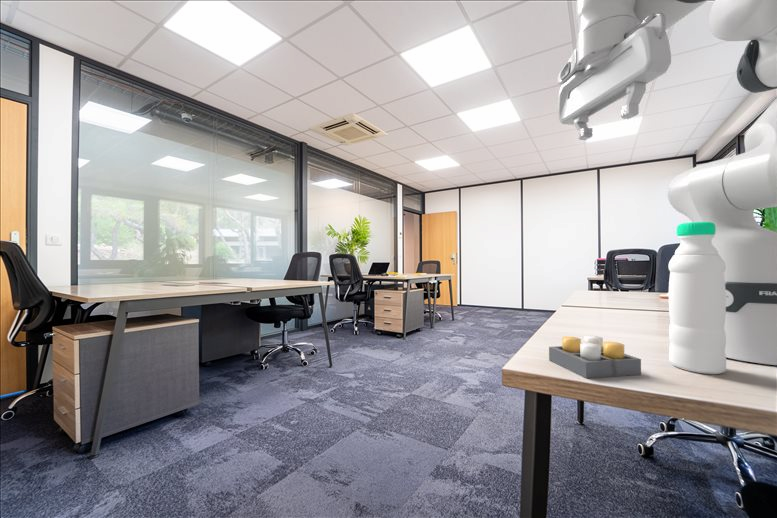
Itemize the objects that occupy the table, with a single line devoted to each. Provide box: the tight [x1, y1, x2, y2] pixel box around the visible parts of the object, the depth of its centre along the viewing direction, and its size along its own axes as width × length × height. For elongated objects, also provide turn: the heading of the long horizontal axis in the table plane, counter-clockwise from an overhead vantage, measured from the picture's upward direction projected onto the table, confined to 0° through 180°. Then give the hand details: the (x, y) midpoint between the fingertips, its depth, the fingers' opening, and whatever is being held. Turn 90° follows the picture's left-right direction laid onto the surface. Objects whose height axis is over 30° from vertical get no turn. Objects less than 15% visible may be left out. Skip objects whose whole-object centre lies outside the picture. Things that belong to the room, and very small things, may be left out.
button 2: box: [580, 342, 601, 361], centre depth 53 cm, size 3×3×3 cm
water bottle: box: [668, 221, 727, 375], centre depth 54 cm, size 7×7×25 cm
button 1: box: [561, 336, 582, 353], centre depth 57 cm, size 3×3×3 cm
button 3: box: [583, 335, 604, 351], centre depth 58 cm, size 3×3×3 cm
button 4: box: [603, 341, 625, 360], centre depth 53 cm, size 3×3×3 cm
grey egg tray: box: [548, 345, 642, 379], centre depth 55 cm, size 10×9×2 cm
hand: (605, 128), depth 56 cm, fingers open, 8 cm apart
